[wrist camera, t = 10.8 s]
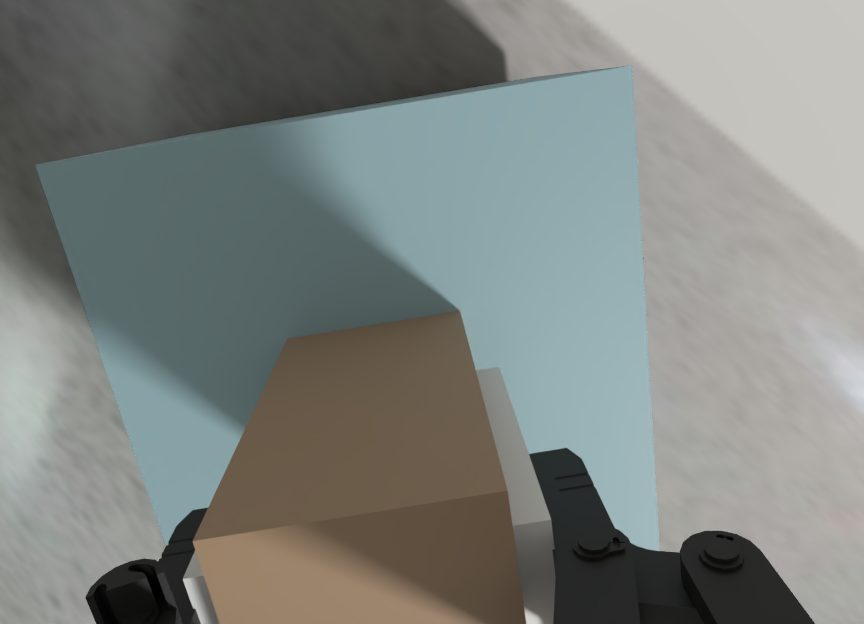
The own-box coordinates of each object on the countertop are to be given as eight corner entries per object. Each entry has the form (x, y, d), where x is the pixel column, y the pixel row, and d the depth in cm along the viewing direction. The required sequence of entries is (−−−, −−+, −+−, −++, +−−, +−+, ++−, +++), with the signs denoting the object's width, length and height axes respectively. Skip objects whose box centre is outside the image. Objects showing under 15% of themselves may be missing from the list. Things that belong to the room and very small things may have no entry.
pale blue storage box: (274, 459, 35) (82, 1007, 14) (187, 134, 29) (-331, 236, 9) (570, 411, 34) (822, 893, 14) (536, 76, 29) (864, 38, 8)
